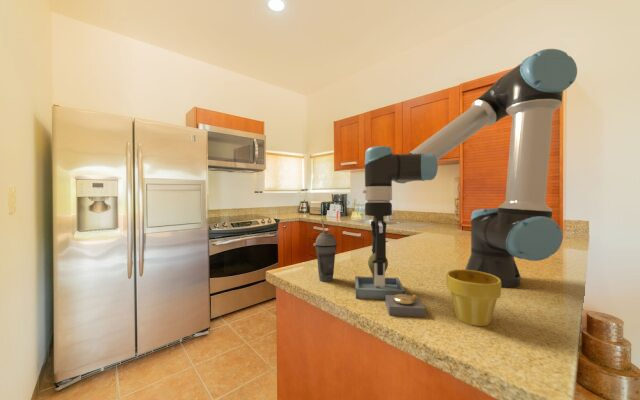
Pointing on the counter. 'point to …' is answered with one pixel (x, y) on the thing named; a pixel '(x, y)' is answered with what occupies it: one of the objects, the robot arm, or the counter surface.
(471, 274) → the plant pot
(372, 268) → the light bulb
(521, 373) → the counter surface
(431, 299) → the counter surface
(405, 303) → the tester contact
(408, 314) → the tester
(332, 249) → the beverage cup
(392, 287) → the tray
